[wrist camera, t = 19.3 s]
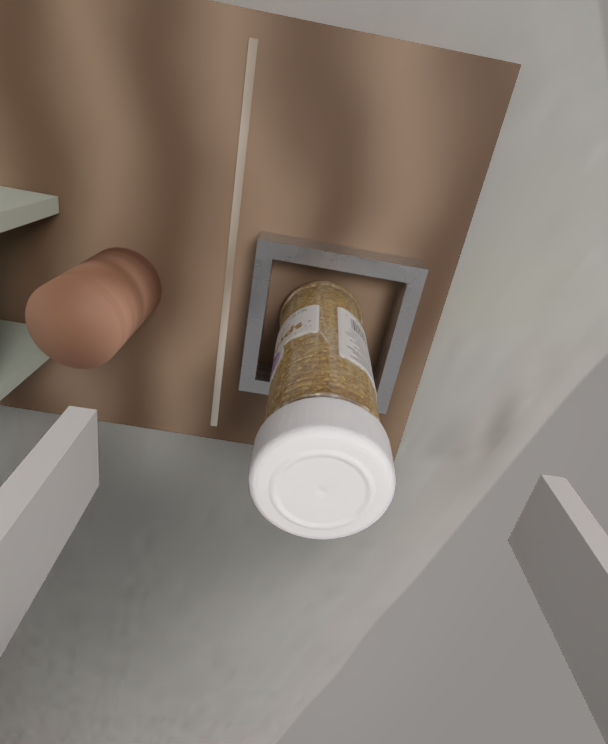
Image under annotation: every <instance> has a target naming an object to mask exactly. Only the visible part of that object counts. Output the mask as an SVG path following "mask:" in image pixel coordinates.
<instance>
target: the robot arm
mask: <svg viewBox="0 0 608 744" xmlns="http://www.w3.org/2000/svg"><path fill="white" fill-rule="evenodd" d="M98 487H99V461H98V425H97V410H95V409H89V408H82V407H75V406H69V407H68V408H67V409H66V410H65V411H64V412H63V414H62V415H61V416H60V417H59V418H58V420H57V421H56V422H55V423H54V424H53V426H52V427H51V428H50V429H49V430H48V431H47V433H46V434H45V435H44V436H43V437H42V439H41V440H40V441H39V442H38V443H37V444H36V446H35V447H34V448H33V449H32V450H31V452H30V453H29V454H28V455H27V456H26V458H25V459H24V460H23V461H22V462H21V463H20V465H19V466H18V467H17V468H16V469H15V471H14V472H13V473H12V474H11V475H10V477H9V478H8V479H7V480H6V481H5V482H4V484H3V485H2V486H1V487H0V657H1V656H2V654H3V652H4V650H5V649H6V647H7V645H8V643H9V642H10V640H11V638H12V636H13V635H14V633H15V631H16V629H17V628H18V626H19V624H20V622H21V621H22V619H23V617H24V615H25V614H26V612H27V610H28V608H29V607H30V605H31V603H32V602H33V600H34V598H35V596H36V595H37V593H38V591H39V589H40V588H41V586H42V584H43V582H44V581H45V579H46V577H47V575H48V574H49V572H50V570H51V568H52V567H53V565H54V563H55V561H56V560H57V558H58V556H59V554H60V553H61V551H62V549H63V548H64V546H65V544H66V542H67V541H68V539H69V537H70V535H71V534H72V532H73V530H74V528H75V527H76V525H77V523H78V521H79V520H80V518H81V516H82V514H83V513H84V511H85V509H86V507H87V506H88V504H89V502H90V500H91V499H92V497H93V495H94V494H95V492H96V490H97V488H98ZM508 541H509V543H510V545H511V547H512V549H513V551H514V554H515V556H516V558H517V560H518V562H519V564H520V566H521V568H522V570H523V572H524V574H525V576H526V578H527V581H528V583H529V585H530V587H531V589H532V591H533V593H534V595H535V597H536V599H537V601H538V603H539V605H540V607H541V610H542V612H543V613H544V616H545V618H546V620H547V622H548V624H549V626H550V628H551V630H552V632H553V634H554V636H555V639H556V640H557V643H558V645H559V647H560V649H561V651H562V653H563V655H564V657H565V659H566V661H567V663H568V665H569V668H570V669H571V672H572V674H573V676H574V678H575V680H576V682H577V684H578V686H579V688H580V690H581V692H582V695H583V697H584V699H585V700H586V703H587V705H588V707H589V709H590V711H591V713H592V715H593V717H594V719H595V721H596V723H597V726H598V728H599V730H600V732H601V734H602V736H603V738H604V740H605V742H606V744H608V536H607V534H606V533H605V532H604V530H603V529H602V528H601V526H600V525H599V523H598V522H597V521H596V519H595V518H594V517H593V515H592V514H591V513H590V511H589V510H588V509H587V507H586V506H585V504H584V503H583V501H582V500H581V499H580V497H579V496H578V495H577V493H576V492H575V491H574V489H573V488H572V486H571V485H570V484H569V482H568V481H567V480H566V478H563V477H556V476H549V475H541V476H540V478H539V480H538V482H537V484H536V486H535V488H534V490H533V492H532V494H531V496H530V498H529V500H528V501H527V503H526V505H525V508H524V510H523V511H522V514H521V515H520V517H519V519H518V521H517V523H516V525H515V528H514V529H513V532H512V533H511V536H510V537H509V539H508Z"/></svg>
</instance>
